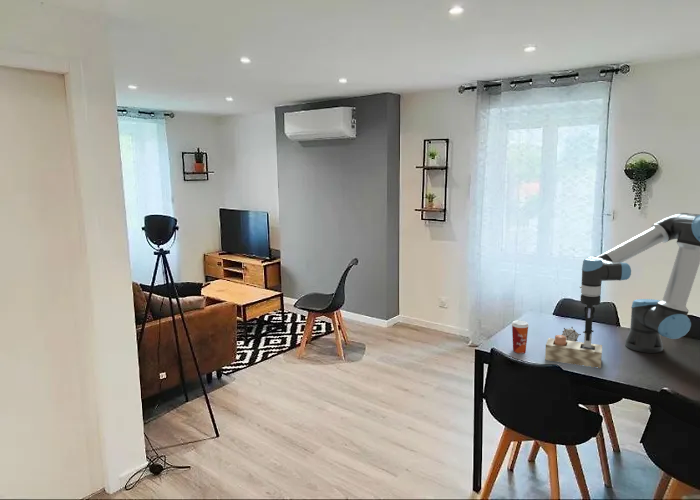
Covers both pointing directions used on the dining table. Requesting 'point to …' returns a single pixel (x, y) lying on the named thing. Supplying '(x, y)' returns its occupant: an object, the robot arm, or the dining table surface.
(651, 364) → the dining table surface
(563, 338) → the terracotta button
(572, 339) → the spiked grey ball
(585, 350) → the button box
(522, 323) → the paper cup
